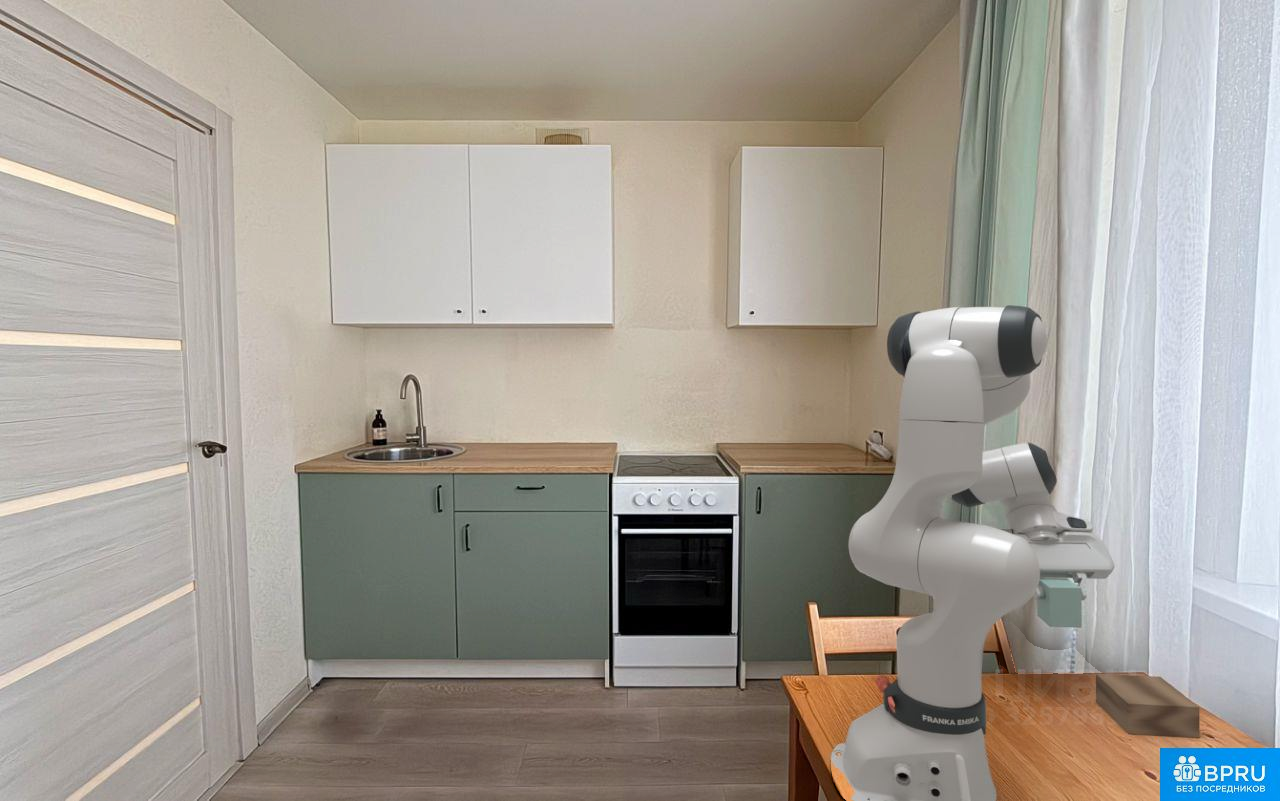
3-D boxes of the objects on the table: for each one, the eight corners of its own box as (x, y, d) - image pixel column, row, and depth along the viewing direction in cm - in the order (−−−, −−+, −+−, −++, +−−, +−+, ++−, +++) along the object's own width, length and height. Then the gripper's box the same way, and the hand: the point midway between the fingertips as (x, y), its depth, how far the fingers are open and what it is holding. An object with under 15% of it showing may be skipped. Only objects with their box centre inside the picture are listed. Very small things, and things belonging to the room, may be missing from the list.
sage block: (1050, 626, 111) (1049, 587, 111) (1037, 615, 116) (1037, 578, 116) (1081, 627, 110) (1081, 588, 110) (1067, 616, 115) (1067, 578, 115)
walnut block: (1128, 733, 102) (1128, 703, 102) (1096, 701, 112) (1095, 673, 112) (1199, 737, 101) (1199, 707, 100) (1160, 704, 110) (1160, 676, 110)
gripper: (981, 520, 121) (1001, 589, 112) (1100, 521, 117) (1131, 591, 108) (973, 537, 126) (992, 604, 116) (1088, 538, 122) (1117, 607, 113)
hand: (1060, 598), depth 112 cm, fingers closed on sage block, 5 cm apart
